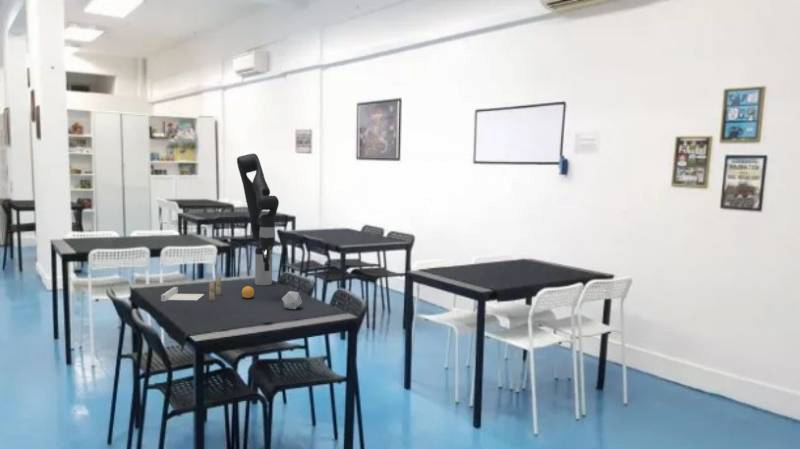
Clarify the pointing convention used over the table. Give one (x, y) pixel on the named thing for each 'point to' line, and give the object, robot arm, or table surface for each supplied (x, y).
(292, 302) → the die
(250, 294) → the ball
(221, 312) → the table surface
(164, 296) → the stopper wall
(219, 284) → the post
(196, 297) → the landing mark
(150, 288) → the table surface
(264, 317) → the table surface
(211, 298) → the post
